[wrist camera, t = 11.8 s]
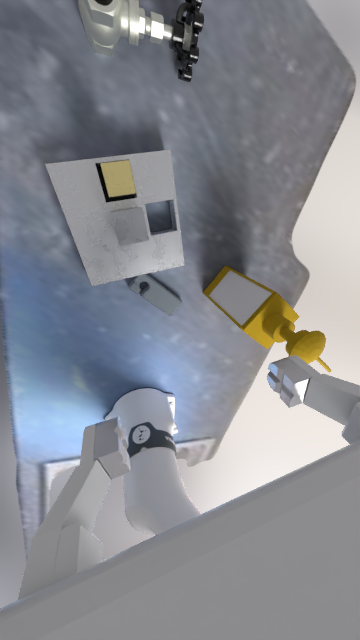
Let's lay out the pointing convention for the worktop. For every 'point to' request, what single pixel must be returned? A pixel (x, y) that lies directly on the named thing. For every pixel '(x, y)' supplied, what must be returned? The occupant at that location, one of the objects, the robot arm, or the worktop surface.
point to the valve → (143, 28)
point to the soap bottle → (263, 315)
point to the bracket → (156, 293)
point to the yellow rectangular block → (118, 178)
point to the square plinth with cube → (119, 217)
